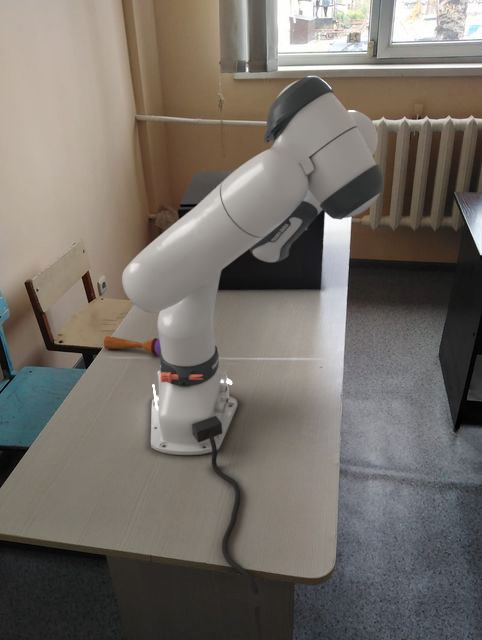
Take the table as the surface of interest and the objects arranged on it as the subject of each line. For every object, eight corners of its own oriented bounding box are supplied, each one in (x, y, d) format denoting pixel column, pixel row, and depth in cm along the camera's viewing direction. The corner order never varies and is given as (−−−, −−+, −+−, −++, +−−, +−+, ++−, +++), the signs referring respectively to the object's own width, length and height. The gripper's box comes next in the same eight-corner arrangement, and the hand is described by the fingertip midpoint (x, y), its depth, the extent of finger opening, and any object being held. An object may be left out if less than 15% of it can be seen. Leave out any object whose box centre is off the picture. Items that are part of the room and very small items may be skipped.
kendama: (112, 327, 140) (182, 332, 133) (115, 349, 142) (184, 355, 135) (99, 335, 134) (171, 341, 128) (102, 357, 137) (173, 364, 130)
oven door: (321, 299, 155) (326, 215, 140) (184, 299, 159) (174, 217, 144) (320, 286, 161) (324, 204, 145) (188, 287, 165) (178, 207, 149)
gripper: (290, 200, 132) (289, 224, 145) (206, 201, 134) (214, 225, 147) (289, 224, 130) (289, 246, 144) (206, 225, 133) (213, 247, 146)
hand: (250, 235), depth 146 cm, fingers closed, pressing on oven door
